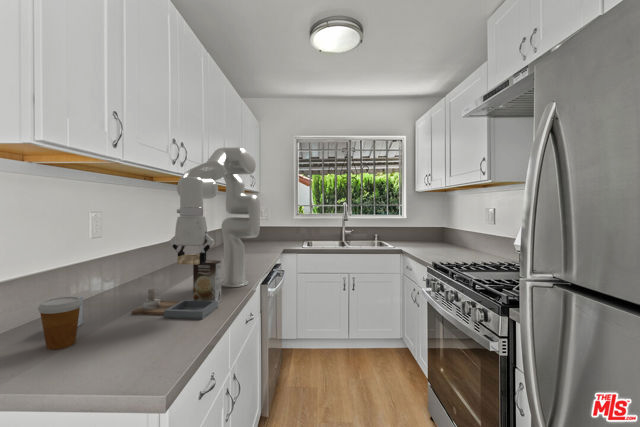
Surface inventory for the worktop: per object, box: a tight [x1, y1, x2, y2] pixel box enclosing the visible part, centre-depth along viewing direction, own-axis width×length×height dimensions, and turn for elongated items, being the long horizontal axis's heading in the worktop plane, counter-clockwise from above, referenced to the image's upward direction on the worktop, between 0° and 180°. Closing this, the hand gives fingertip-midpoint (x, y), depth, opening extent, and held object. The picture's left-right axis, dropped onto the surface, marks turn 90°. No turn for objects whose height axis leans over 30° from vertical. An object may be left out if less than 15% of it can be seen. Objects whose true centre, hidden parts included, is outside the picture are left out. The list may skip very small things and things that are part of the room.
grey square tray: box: [164, 299, 219, 320], centre depth 124 cm, size 13×13×2 cm
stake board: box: [131, 288, 182, 316], centre depth 128 cm, size 14×12×8 cm
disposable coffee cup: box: [37, 296, 82, 351], centre depth 95 cm, size 10×10×12 cm
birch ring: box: [176, 253, 200, 266], centre depth 124 cm, size 7×9×2 cm
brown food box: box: [192, 259, 222, 304], centre depth 136 cm, size 9×6×16 cm
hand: (192, 263), depth 123 cm, fingers closed on birch ring, 7 cm apart
